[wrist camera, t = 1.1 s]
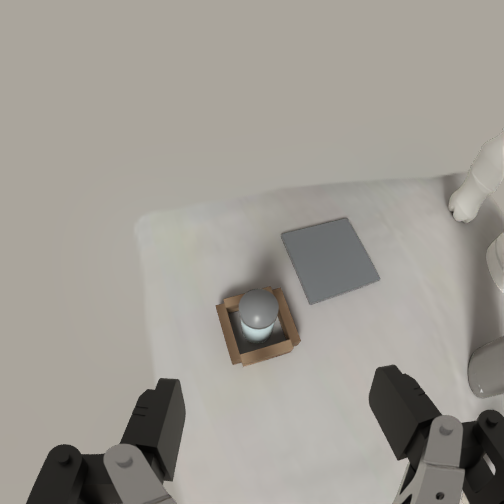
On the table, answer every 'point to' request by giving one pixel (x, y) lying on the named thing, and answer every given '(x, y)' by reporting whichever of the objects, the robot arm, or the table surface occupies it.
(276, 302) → the grey-capped cylinder canister
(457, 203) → the water bottle
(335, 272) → the slate pad
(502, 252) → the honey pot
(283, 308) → the walnut collar
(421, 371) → the table surface
